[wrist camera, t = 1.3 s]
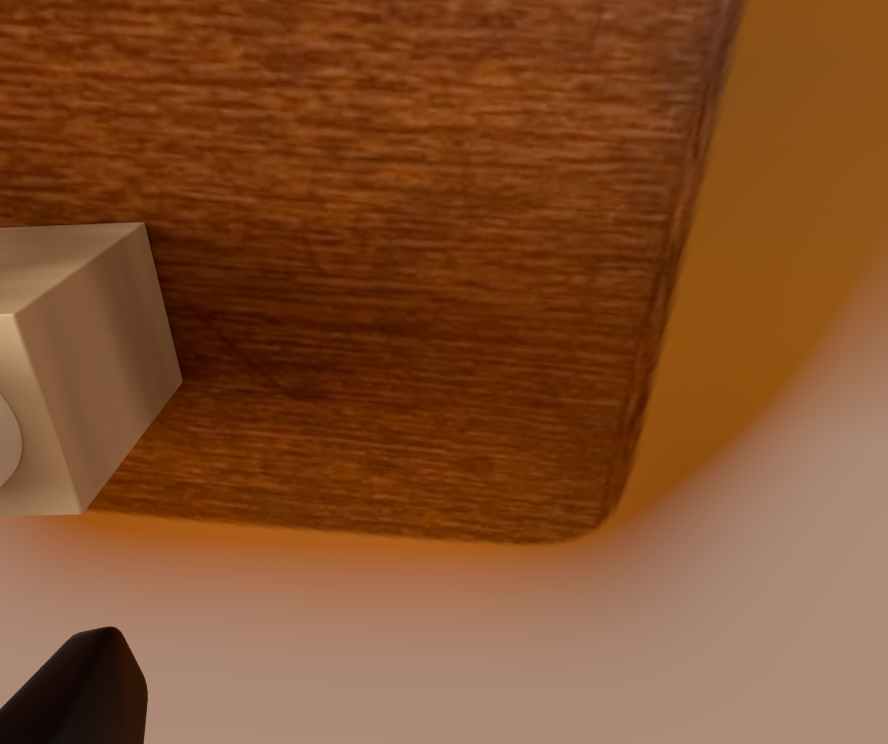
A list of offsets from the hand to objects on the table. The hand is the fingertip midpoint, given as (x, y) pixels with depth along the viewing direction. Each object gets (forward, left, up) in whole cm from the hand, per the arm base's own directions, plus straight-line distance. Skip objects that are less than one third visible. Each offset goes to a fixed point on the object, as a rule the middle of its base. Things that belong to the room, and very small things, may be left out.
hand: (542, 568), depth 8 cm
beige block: (+11, +5, -14) cm, 19 cm away
